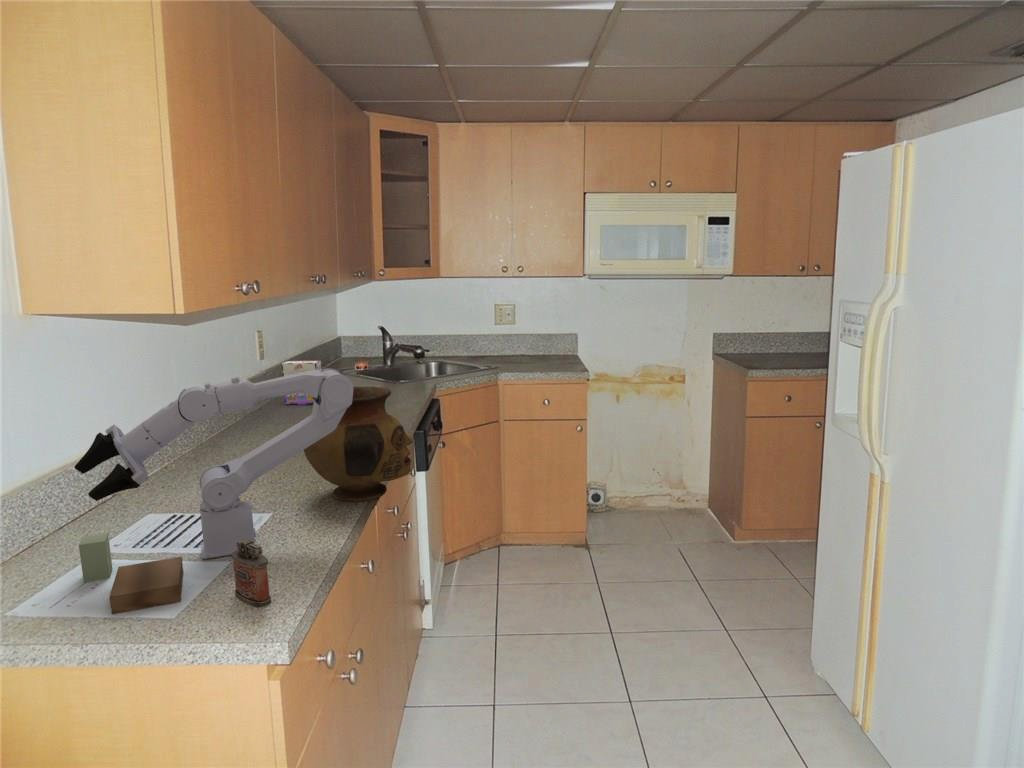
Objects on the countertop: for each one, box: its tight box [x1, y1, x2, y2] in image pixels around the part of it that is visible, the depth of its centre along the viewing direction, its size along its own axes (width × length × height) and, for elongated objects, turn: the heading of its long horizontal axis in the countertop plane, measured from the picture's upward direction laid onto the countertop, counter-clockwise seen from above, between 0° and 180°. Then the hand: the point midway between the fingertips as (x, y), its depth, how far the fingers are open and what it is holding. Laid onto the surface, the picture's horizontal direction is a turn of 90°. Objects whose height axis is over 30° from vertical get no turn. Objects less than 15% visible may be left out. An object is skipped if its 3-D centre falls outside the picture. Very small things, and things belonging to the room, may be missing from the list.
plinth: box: [108, 556, 184, 615], centre depth 119 cm, size 10×12×3 cm
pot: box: [303, 386, 414, 503], centre depth 166 cm, size 25×24×25 cm
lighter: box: [230, 539, 272, 609], centre depth 116 cm, size 8×3×10 cm, turn 52°
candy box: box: [281, 360, 322, 405], centre depth 272 cm, size 14×6×16 cm, turn 84°
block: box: [78, 532, 113, 583], centre depth 125 cm, size 4×4×7 cm
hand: (85, 483), depth 124 cm, fingers open, 7 cm apart
